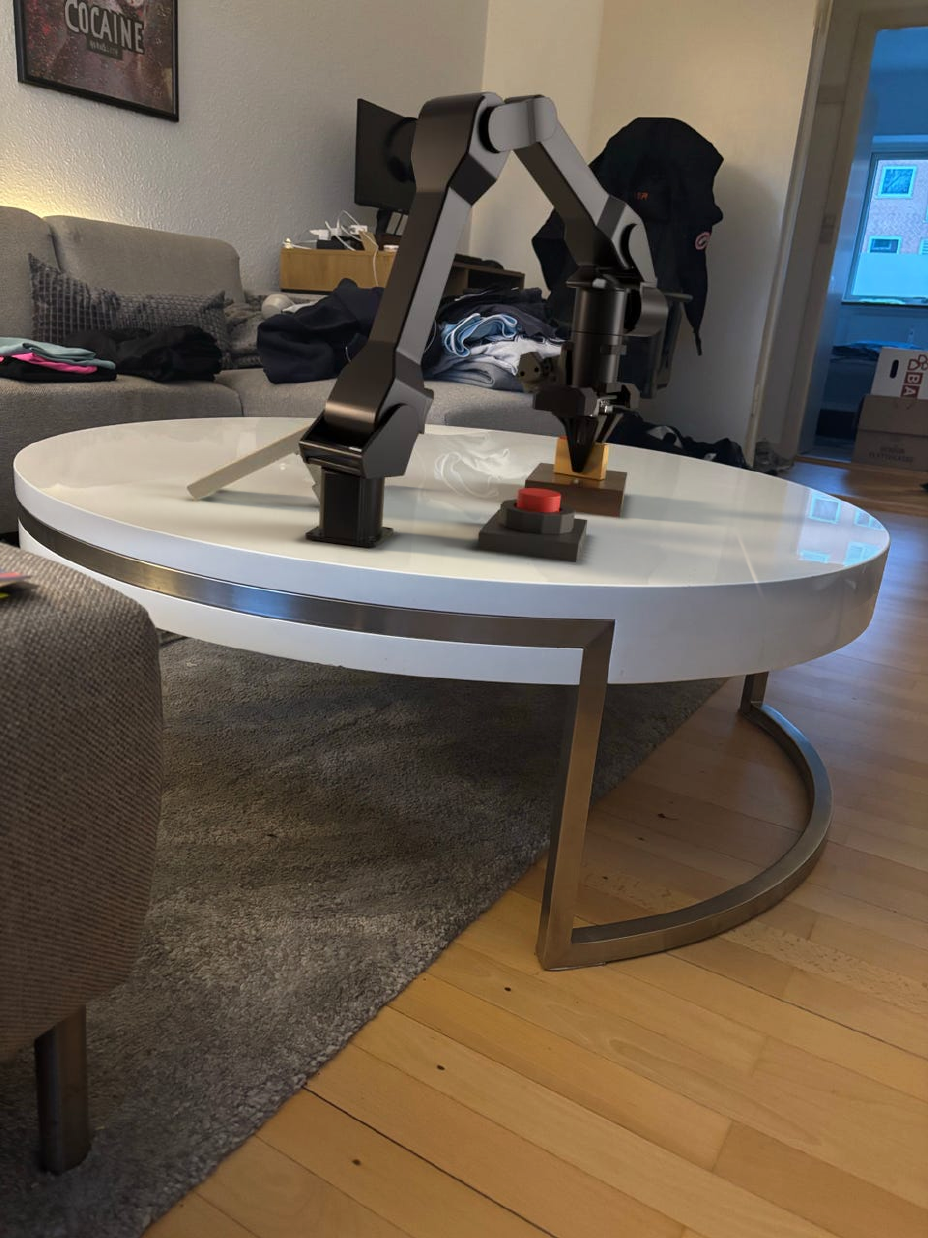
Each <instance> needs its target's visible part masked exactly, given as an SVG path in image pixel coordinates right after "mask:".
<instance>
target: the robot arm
mask: <svg viewBox="0 0 928 1238" xmlns="http://www.w3.org/2000/svg"><path fill="white" fill-rule="evenodd" d="M512 151H513V153H514V154H515V156H516V157H517V159H518V160H519V161H520V162H521V164H522V165H523V167H524V168H525V169H526V171H527V172H528V173H529V175H530V176H531V178H532V179H533V181H534V182H535V183H536V184H537V186H538V188H540V190H541V191H542V193H543V194H544V196H545V197H546V198H547V200H548V201H549V202H550V204H551V205H552V206H553V208H554V209H555V211H556V213H558V215H559V216H560V218H561V219H562V222H563V224H564V225H565V228H564V235H563V236H564V237H563V240H564V242H565V244H566V246H567V249H568V250H569V252H570V254H571V256H572V258H573V260H574V262H575V263H576V265H577V266H578V267H579V268H578V270H577V271H576V272H575V273H573V274H571V275H570V276H569V277H568V278H567V280H565V281H566V282H565V286H566V287H567V288H573V289H576V290H575V298H574V306H573V316H572V324H571V334H570V340H564V341H563V342H562V343H561V345H560V353H559V354H555V355H553V356H546V357H544V358H543V357H542V355H541V354H540V353H539V351H528V352H525V353H524V352H523V353H521V354H520V355H519V361H518V365H516V371H517V372H516V373H515V375H514V377H515V379H516V380H518V381H520V382H521V383H522V388H523V393H525V394H528V393H529V392H532V403H531V409H532V410H536V411H542V412H549V413H550V414H551V415H552V416H553V417H555V418H556V419H557V420H558V421H559V422H560V423H561V424H562V426H563V428H564V433H565V436H566V438H567V443H568V449H569V455H570V461H571V467H572V471H573V472H576V473H581V472H582V471H583V469H584V467H585V465H586V463H587V461H588V458H589V456H590V454H591V451H592V449H593V447H594V445H595V442H596V443H603V444H606V441H607V440H608V438H609V437H610V435H611V434H612V432H613V430H614V429H615V427H616V425H617V423H618V422H619V420H620V419H621V418H622V417H623V415H624V412H621V411H613V406H618V407H619V406H620V407H625V408H626V409H629V410H631V409H638V408H639V402H640V395H641V392H640V391H639V389H638V388H637V386H636V384H634V383H629V382H622V381H617V378H618V372H619V365H620V358H621V357H620V356H622V355H623V356H624V355H625V356H626V354H627V346H628V345H625V344H622V341H623V336H630V337H645V338H646V337H652V336H654V335H656V334H657V333H658V332H659V331H661V329H662V328H663V327H664V326H665V324H666V322H667V320H668V316H669V307H668V301H667V298H666V296H665V295H664V293H663V292H662V291H661V290H660V289H659V288H658V287H657V286H658V277H657V276H656V275H655V270H654V263H653V260H652V255H651V250H650V245H649V241H648V235H647V232H646V228H645V225H644V222H643V220H642V218H641V217H640V215H639V214H637V213H636V211H635V210H634V209H633V208H632V207H631V206H630V205H629V203H627V202H625V201H623V200H621V199H619V198H617V197H616V196H613V195H611V194H609V192H607V191H606V190H605V189H604V188H603V187H602V185H601V183H600V182H599V181H598V179H597V177H596V176H595V174H594V173H593V171H592V170H591V168H590V166H589V165H588V163H587V162H586V160H585V158H584V157H583V155H582V154H581V153H580V151H579V149H578V148H577V146H576V145H575V143H574V141H573V140H572V138H571V137H570V135H569V134H568V132H567V131H566V129H565V128H564V126H563V124H562V123H561V121H560V120H559V118H558V111H557V107H556V105H555V102H554V101H553V100H552V99H551V98H550V97H548V96H545V95H543V94H540V93H538V94H528V95H518V96H509V97H506V98H504V99H503V97H501V96H500V95H499V94H498V93H496V92H492V91H481V92H472V93H463V94H462V93H461V94H454V95H444V96H437V97H434V98H431V99H430V100H427V101H425V102H424V103H423V105H422V107H421V109H420V111H419V113H418V116H417V120H416V124H415V131H414V135H413V142H412V147H411V152H410V153H411V154H410V159H411V165H412V170H413V175H414V180H415V184H416V190H415V193H414V197H413V200H412V203H411V206H410V209H409V213H408V216H407V219H406V222H405V224H404V228H403V230H402V234H401V236H400V237H401V238H400V241H399V243H398V246H397V250H396V253H395V256H394V259H393V261H392V266H391V269H390V271H389V274H388V278H387V281H386V284H385V287H384V289H383V293H382V297H381V300H380V302H379V306H378V308H377V312H376V315H375V318H374V320H373V321H374V322H373V323H372V327H371V331H370V333H369V336H368V340H367V342H366V344H365V345H364V346H363V347H362V349H361V350H360V351H359V352H358V353H357V354H356V355H354V357H353V358H352V359H351V360H350V361H348V363H347V364H346V365H345V366H344V367H343V368H342V369H341V370H340V373H339V374H338V376H337V379H336V381H335V382H334V385H333V387H332V389H331V391H330V393H329V395H328V398H327V399H326V402H325V406H324V409H322V411H321V412H320V414H319V415H318V416H317V417H316V418H315V420H314V422H313V421H312V422H313V424H312V425H311V426H310V427H309V429H308V430H307V431H306V432H305V434H304V435H303V436H302V438H301V439H300V440H299V443H298V444H299V448H300V452H301V456H302V458H301V460H302V463H303V464H305V463H306V464H314V465H318V466H322V467H321V479H320V502H319V511H318V512H319V514H318V525H317V526H315V527H314V528H312V529H310V530H309V531H307V532H305V535H304V538H305V539H306V540H311V541H318V542H325V543H331V544H332V543H333V544H341V545H348V546H349V545H350V546H354V547H355V546H356V547H363V548H376V547H378V546H379V545H381V544H382V543H383V542H385V541H386V540H387V539H389V538H390V537H391V536H393V534H394V528H393V527H388V526H383V523H384V521H383V520H384V505H385V504H384V503H385V486H386V479H387V478H396V477H403V476H405V475H406V471H407V468H408V465H409V462H410V459H411V456H412V452H413V449H414V446H415V444H416V442H417V439H418V437H419V435H424V434H425V432H426V431H425V430H426V422H427V418H428V414H429V411H430V409H431V407H432V405H433V403H434V400H435V390H434V389H432V388H428V387H426V386H425V381H424V376H423V371H422V367H421V366H422V365H421V363H422V358H423V355H424V352H425V348H426V346H427V343H428V339H429V337H430V333H431V330H432V328H433V324H434V321H435V318H436V315H437V312H438V309H439V306H440V303H441V301H442V296H443V294H444V290H445V287H446V284H447V281H448V278H449V276H450V272H451V269H452V266H453V263H454V260H455V257H456V254H457V250H458V248H459V244H460V241H461V239H462V235H463V232H464V229H465V226H466V223H467V220H468V216H469V215H470V211H471V209H472V208H473V207H474V205H476V203H477V202H479V201H480V199H481V198H482V197H484V195H485V194H486V193H487V192H488V191H489V190H490V189H491V188H492V187H493V186H494V185H495V184H496V183H497V181H498V179H499V178H500V174H501V173H502V171H503V169H504V167H505V164H506V163H507V161H508V159H509V156H510V154H511V152H512ZM351 448H352V449H351ZM301 456H300V457H301ZM306 464H305V465H306Z"/></svg>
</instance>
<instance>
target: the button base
mask: <svg viewBox="0 0 928 1238" xmlns="http://www.w3.org/2000/svg"><path fill="white" fill-rule="evenodd" d="M575 515H576V512H575V509H573V508H571V507H569V506H567V505H564V504H560V506H559V511H558V512H537V511H528V510H524V509H520V508H517V498H514V499H506V500H503V501H502V502H501V503H500V506H499V508H498V510H497V511H496V512H494V514H493V515H492V516H491V517H490V519H488V521H487V522H485V524H484V525H483V527H481V529H480V530H479V531H478V537H477V538H478V539H477V548H476V549H477V550H480V551H487V552H496V553H501V554H511V555H518V556H525V557H532V558H533V557H534V558H541V559H548V560H549V559H550V560H555V561H556V560H557V561H564V562H571V563H572V562H573V563H577V562H578V559H579V556H580V553H581V550H582V548H583V545H584V541H585V539H586V535H587V529H588V528H587V526H588V519H583V518H575Z"/></svg>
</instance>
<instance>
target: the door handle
mask: <svg viewBox="0 0 928 1238" xmlns="http://www.w3.org/2000/svg"><path fill="white" fill-rule="evenodd" d="M314 421H315V420H314ZM314 421H311V422H309V423H306V424H305V425H304V426H301V427H299V428H297V429H295V430H293V431H291V432H288V433H287V434H285V435H283V436H281V437H279V438H277V439H275V440H273V441H271V442H269V443H267V444H265V445H263V446H260V447H258V448H257V449H255V450H252V451H251V452H248V453H247V454H245V455H242V456H240V457H239V458H236V459H234V460H232V461H230V462H229V463H226V464H224V465H222V466H220V467H218V468H216V469H214V470H211V471H210V472H208V473H206V474H205V475H203V476H201V477H199V478H198V479H196V480H194V481H193V482H191V483H189V484H187V485H186V490H187V491H188V493H189V494H190V495H191V497H192V498H193V499H194V500H199V499H202V498H204V497H205V496H208V495H210V494H212V493H214V492H216V491H218V490H220V489H223V488H224V487H226V486H228V485H230V484H232V483H234V482H237V481H239V480H241V479H243V478H245V477H247V476H249V475H251V474H253V473H255V472H258V471H259V470H261V469H263V468H265V467H267V466H270V465H271V464H274V463H276V462H277V461H280V460H281V459H284V458H286V457H288V456H289V455H292V454H295V456H298V455H299V456H300V458H301V459H302V456H301V452H300V448H299V444H298V443H299V440H300V439H301V438H302V436H303V435H304V434H305V432H306V431H307V430H308V429H309V427H310V426H311V425H312V424H313V422H314ZM304 465H305V467H306V468H307V470H308V472H309V474H310V475H311V478H312V479H313V481H314V484H313V485H312V486H311V489H312V491H313V493H314V495H315V496H316V499H317V500H318V502H319V503H320V479H321V467H322V466H318V465H314V464H306V463H304Z"/></svg>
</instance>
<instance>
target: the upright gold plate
mask: <svg viewBox="0 0 928 1238" xmlns="http://www.w3.org/2000/svg"><path fill="white" fill-rule="evenodd" d="M556 439H557V440H556V447H555V455H554V463H553V464H554V472H556V473H562V474H567V475H573V476H579V477H585V478H591V479H597V480H601V479H605V475H606V470H607V467H608V461H609V460H608V459H609V452H610V444H609V443H604V444H603V443H596V442H595V445H594V447H593V449H592V451H591V454H590V456H589V458H588V461H587V463H586V465H585V467H584V469H583V471H582V472H581V473H576V472H573V471H572V467H571V461H570V455H569V449H568V443H567V438H566V435H561V436H559V437H558V438H556Z"/></svg>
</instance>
